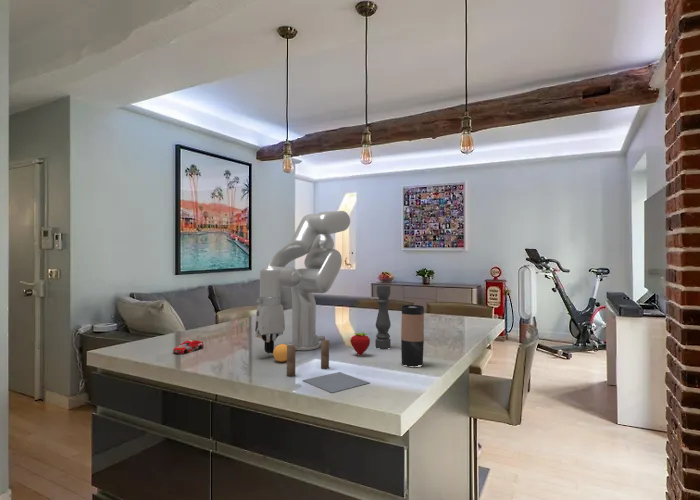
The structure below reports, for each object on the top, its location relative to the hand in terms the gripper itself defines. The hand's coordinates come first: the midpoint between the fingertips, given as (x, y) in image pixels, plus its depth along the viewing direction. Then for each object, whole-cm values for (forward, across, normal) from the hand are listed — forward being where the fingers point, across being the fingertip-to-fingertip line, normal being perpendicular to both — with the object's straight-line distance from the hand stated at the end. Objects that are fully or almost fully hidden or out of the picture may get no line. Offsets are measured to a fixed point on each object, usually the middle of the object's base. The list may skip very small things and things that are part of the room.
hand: (269, 352), depth 150 cm
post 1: (+2, -6, -25) cm, 25 cm away
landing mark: (+2, +1, -38) cm, 39 cm away
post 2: (+2, +7, -24) cm, 25 cm away
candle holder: (+2, +44, -14) cm, 46 cm away
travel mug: (+2, +33, -39) cm, 51 cm away
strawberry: (+2, +28, -18) cm, 33 cm away
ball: (-1, 0, -8) cm, 9 cm away
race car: (+2, -20, +27) cm, 34 cm away
